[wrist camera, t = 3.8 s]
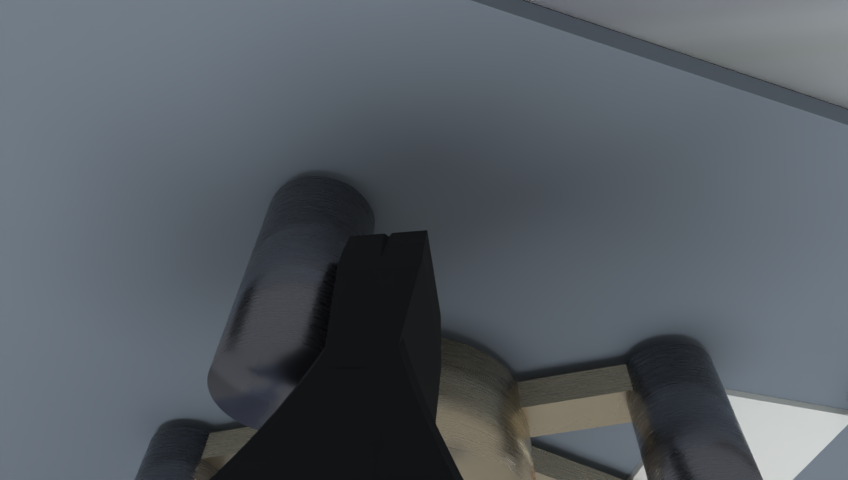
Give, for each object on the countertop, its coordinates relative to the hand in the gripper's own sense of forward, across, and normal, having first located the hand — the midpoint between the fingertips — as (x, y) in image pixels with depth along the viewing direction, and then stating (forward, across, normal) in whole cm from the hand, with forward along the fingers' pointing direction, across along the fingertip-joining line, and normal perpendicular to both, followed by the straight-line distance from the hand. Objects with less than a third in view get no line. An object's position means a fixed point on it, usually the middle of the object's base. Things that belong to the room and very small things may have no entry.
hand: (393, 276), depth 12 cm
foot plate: (+3, 0, +7) cm, 8 cm away
